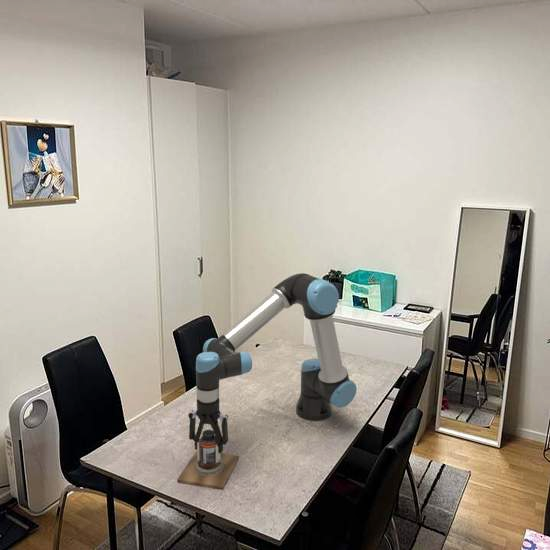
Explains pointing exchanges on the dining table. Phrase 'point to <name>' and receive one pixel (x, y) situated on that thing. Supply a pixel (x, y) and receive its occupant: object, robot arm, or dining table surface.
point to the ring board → (212, 479)
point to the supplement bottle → (208, 448)
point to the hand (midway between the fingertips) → (209, 458)
